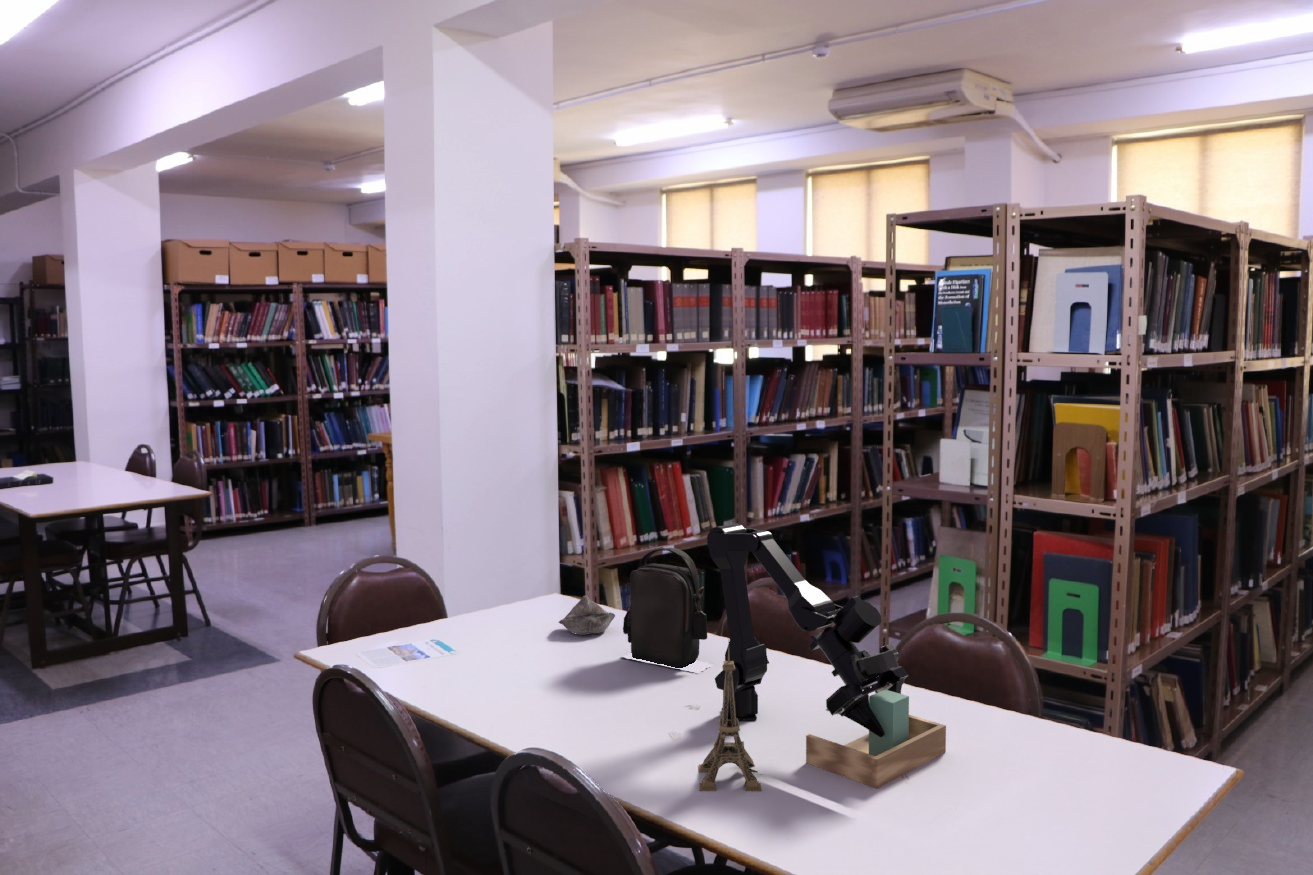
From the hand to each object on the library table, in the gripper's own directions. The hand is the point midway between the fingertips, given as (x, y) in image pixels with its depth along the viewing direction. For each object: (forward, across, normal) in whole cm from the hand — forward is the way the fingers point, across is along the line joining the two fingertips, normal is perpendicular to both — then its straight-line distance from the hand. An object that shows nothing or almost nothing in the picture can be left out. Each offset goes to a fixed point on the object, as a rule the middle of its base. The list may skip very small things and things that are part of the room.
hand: (895, 730), depth 178 cm
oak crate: (+2, 0, +8) cm, 8 cm away
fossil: (-72, +18, +82) cm, 110 cm away
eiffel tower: (-8, -24, +18) cm, 31 cm away
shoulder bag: (-47, +15, +58) cm, 76 cm away
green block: (+3, 0, +5) cm, 6 cm away
